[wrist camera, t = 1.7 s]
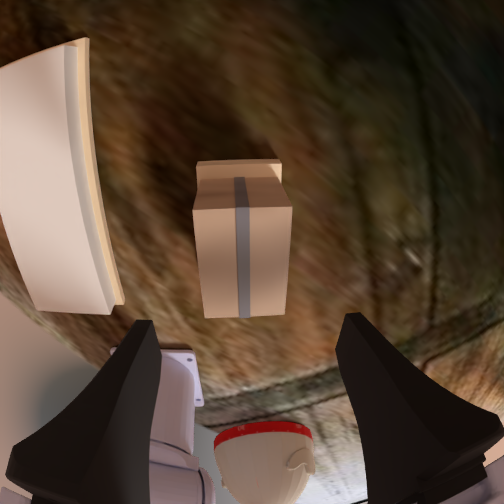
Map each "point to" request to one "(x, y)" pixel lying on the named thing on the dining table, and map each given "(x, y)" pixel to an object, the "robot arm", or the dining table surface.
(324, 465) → the dining table surface
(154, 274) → the dining table surface
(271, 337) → the dining table surface
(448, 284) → the dining table surface
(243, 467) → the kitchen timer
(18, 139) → the dock
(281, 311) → the taped parcel
